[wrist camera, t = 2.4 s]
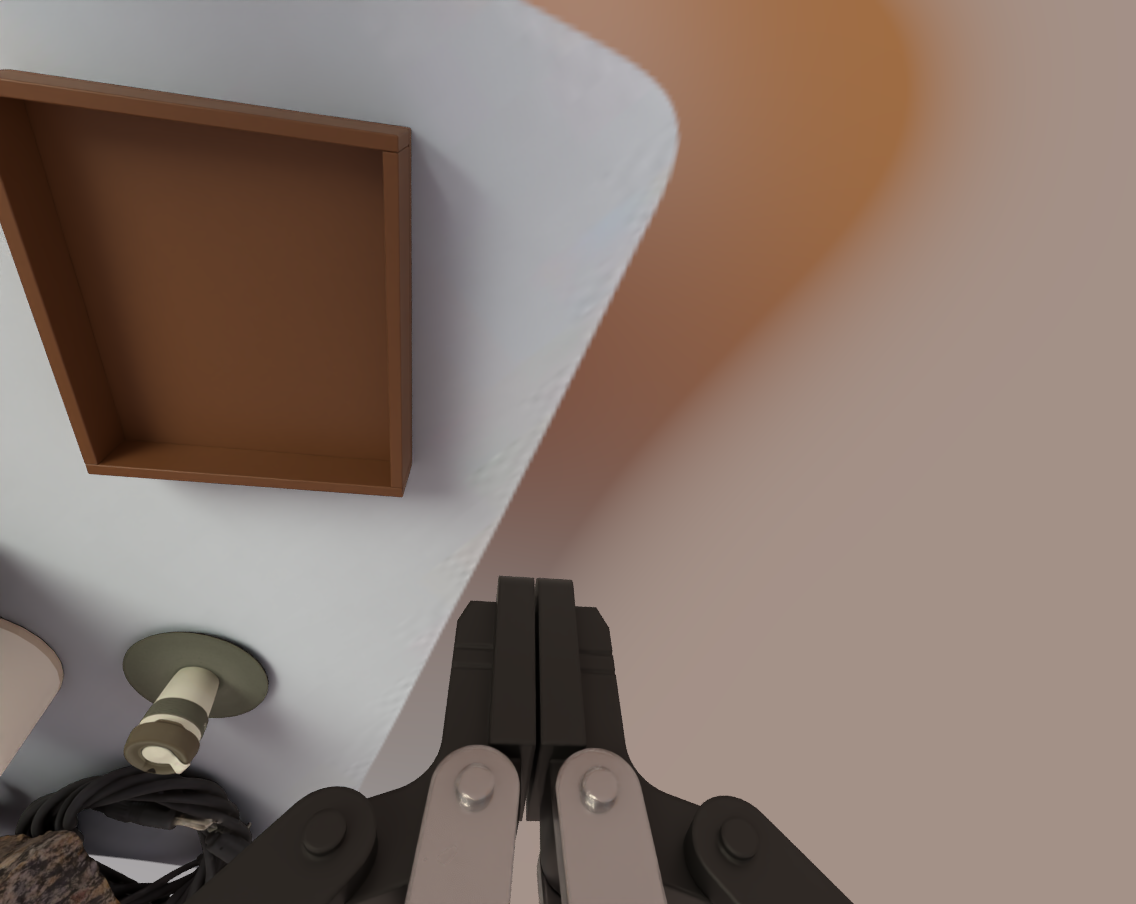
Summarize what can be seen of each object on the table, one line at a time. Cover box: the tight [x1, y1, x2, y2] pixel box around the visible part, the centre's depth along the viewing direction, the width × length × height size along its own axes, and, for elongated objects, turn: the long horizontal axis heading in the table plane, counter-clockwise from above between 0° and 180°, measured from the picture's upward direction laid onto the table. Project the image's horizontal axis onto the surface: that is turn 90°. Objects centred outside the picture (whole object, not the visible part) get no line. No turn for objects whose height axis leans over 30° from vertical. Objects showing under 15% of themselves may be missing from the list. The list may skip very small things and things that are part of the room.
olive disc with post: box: [123, 632, 269, 775], centre depth 33 cm, size 12×12×5 cm
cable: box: [15, 766, 252, 904], centre depth 42 cm, size 17×14×4 cm
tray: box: [0, 69, 412, 497], centre depth 23 cm, size 14×12×2 cm
